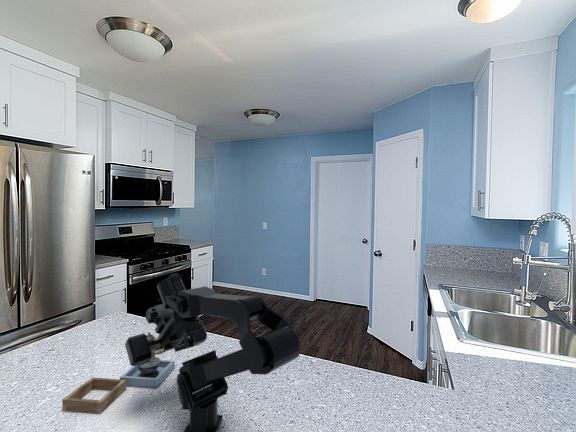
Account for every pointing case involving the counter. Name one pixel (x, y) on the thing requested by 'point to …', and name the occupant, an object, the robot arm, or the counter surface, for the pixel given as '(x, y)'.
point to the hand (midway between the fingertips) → (158, 355)
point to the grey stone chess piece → (150, 363)
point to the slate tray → (134, 380)
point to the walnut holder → (94, 406)
